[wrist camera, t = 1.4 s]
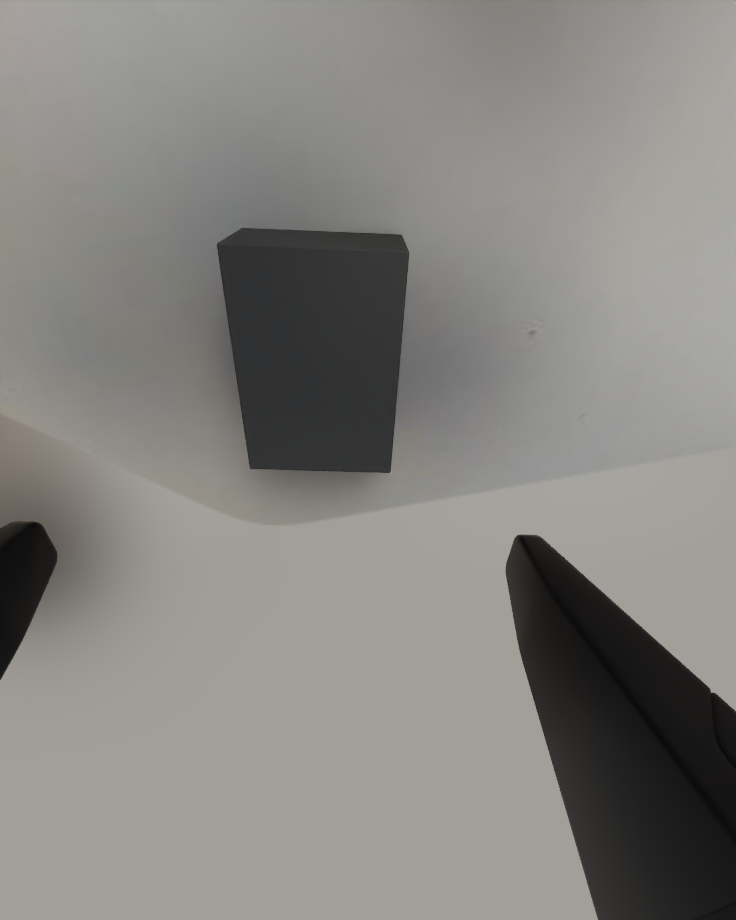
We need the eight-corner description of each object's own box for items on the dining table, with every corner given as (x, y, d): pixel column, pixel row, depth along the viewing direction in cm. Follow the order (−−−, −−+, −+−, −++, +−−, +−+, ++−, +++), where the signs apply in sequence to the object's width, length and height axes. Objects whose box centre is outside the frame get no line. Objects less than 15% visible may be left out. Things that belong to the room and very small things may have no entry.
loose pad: (387, 433, 20) (390, 473, 17) (264, 429, 19) (249, 469, 17) (402, 234, 15) (409, 251, 12) (241, 227, 15) (216, 242, 12)
